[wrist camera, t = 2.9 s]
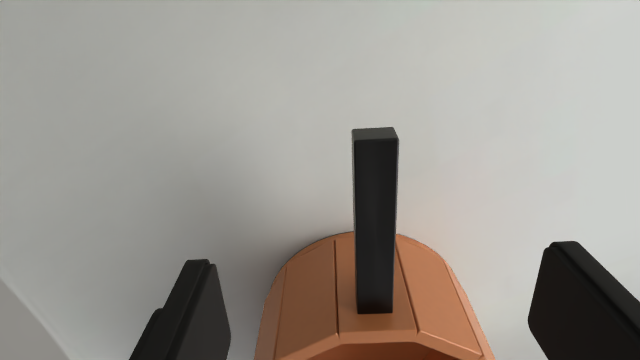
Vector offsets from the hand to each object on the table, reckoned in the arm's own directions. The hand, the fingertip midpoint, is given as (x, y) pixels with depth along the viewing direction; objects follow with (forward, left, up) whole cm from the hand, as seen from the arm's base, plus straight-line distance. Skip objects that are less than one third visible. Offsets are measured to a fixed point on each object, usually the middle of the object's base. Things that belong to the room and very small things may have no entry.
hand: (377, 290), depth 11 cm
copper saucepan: (+7, 0, -10) cm, 12 cm away
